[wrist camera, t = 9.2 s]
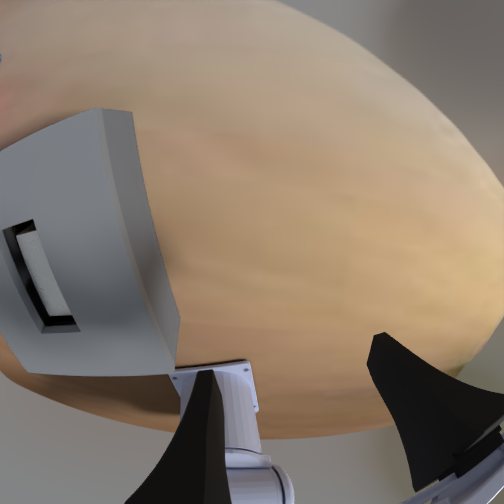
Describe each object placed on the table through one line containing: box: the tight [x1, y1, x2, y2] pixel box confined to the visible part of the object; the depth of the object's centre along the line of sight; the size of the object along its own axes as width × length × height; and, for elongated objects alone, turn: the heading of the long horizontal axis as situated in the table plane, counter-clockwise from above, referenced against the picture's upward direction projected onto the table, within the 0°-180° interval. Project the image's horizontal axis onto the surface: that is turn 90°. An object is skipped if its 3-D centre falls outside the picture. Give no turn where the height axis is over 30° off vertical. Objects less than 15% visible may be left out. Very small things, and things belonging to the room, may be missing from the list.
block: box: [16, 223, 72, 316], centre depth 16 cm, size 6×2×5 cm, turn 5°
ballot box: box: [0, 108, 180, 376], centre depth 15 cm, size 16×14×6 cm
